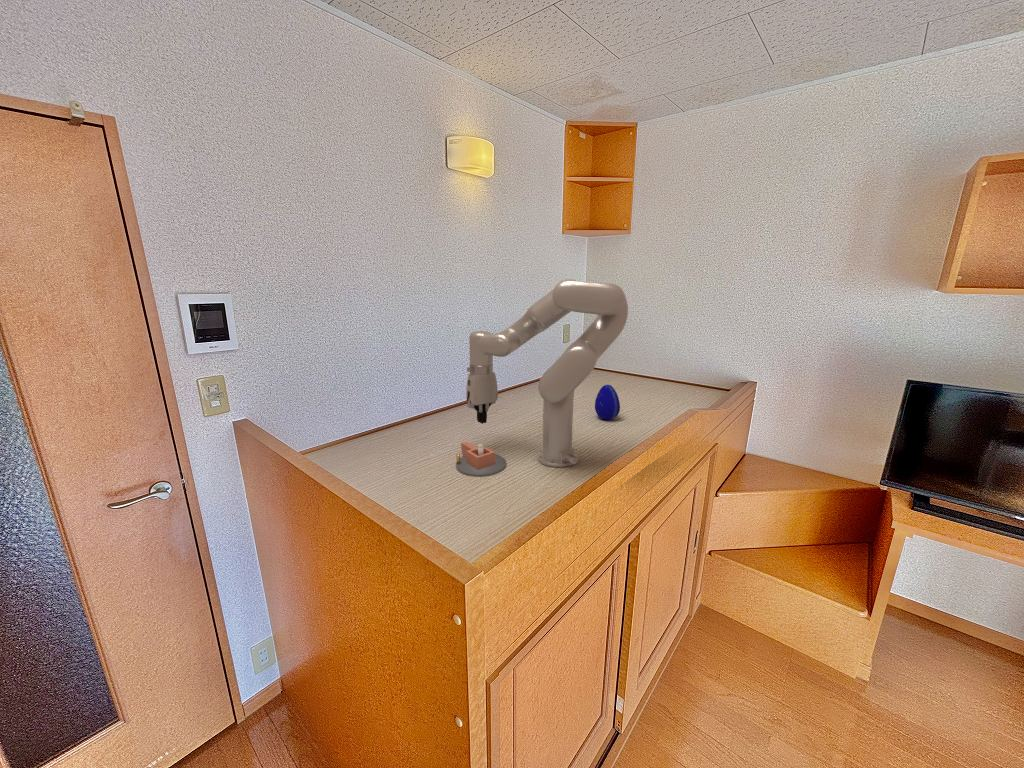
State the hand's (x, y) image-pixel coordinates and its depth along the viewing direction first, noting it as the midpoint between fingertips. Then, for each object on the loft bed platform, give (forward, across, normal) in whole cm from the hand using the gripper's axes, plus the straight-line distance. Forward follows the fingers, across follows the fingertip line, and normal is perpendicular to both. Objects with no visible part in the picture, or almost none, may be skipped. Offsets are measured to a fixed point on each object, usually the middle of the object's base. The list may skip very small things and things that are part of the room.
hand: (482, 422), depth 139 cm
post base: (+11, -6, -8) cm, 15 cm away
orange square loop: (+10, -6, -5) cm, 13 cm away
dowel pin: (+11, -12, -4) cm, 17 cm away
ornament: (+10, +61, -4) cm, 62 cm away
